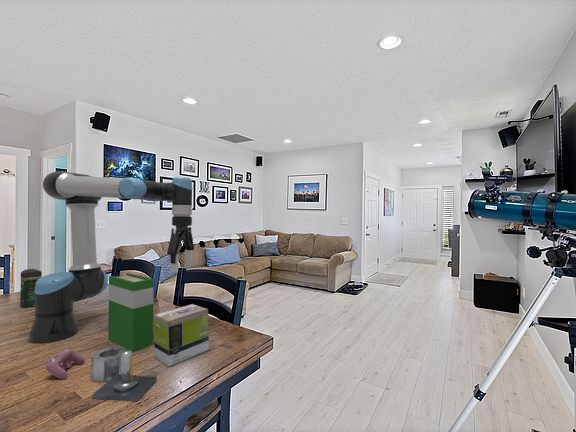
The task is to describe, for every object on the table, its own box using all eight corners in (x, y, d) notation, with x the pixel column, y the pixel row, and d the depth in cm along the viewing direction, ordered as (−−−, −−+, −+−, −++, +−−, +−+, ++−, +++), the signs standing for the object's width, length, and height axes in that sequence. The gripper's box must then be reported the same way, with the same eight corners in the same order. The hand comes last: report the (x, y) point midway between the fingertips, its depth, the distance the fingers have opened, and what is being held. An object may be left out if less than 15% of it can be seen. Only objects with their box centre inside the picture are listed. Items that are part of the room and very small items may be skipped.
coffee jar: (43, 305, 151) (43, 269, 151) (22, 309, 144) (23, 271, 144) (38, 301, 157) (38, 267, 156) (18, 305, 150) (18, 269, 150)
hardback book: (108, 339, 110) (108, 276, 110) (128, 333, 116) (128, 273, 116) (132, 352, 100) (133, 282, 100) (153, 344, 106) (153, 279, 106)
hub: (84, 380, 83) (85, 359, 83) (105, 365, 91) (105, 346, 91) (112, 382, 82) (113, 361, 82) (131, 366, 91) (131, 347, 91)
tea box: (193, 342, 109) (193, 302, 109) (209, 350, 102) (209, 308, 102) (152, 357, 97) (153, 313, 97) (168, 367, 91) (168, 320, 91)
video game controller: (73, 367, 93) (63, 348, 93) (87, 361, 93) (76, 341, 93) (51, 386, 83) (39, 364, 83) (66, 378, 83) (54, 356, 83)
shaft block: (93, 398, 75) (93, 358, 75) (116, 378, 84) (116, 343, 84) (137, 401, 74) (137, 361, 74) (156, 381, 83) (156, 345, 83)
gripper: (178, 216, 105) (177, 275, 105) (202, 215, 130) (201, 263, 130) (157, 215, 105) (156, 274, 105) (185, 215, 130) (184, 263, 130)
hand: (181, 268), depth 118 cm, fingers open, 13 cm apart
